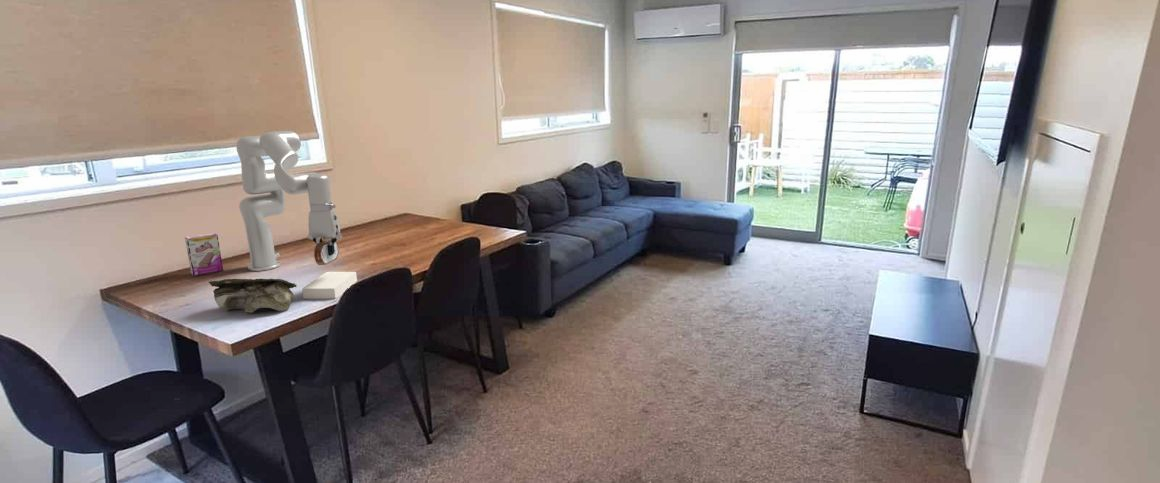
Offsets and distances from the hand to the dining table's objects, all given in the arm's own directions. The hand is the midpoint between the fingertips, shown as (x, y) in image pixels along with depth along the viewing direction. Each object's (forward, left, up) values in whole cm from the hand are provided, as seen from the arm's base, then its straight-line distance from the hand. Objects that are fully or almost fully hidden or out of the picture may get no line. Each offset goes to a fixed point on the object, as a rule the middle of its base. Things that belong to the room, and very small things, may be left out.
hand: (327, 254), depth 212 cm
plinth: (0, 0, -14) cm, 14 cm away
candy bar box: (-21, -63, -15) cm, 68 cm away
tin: (0, 0, -3) cm, 4 cm away
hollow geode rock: (+20, -19, -15) cm, 31 cm away
